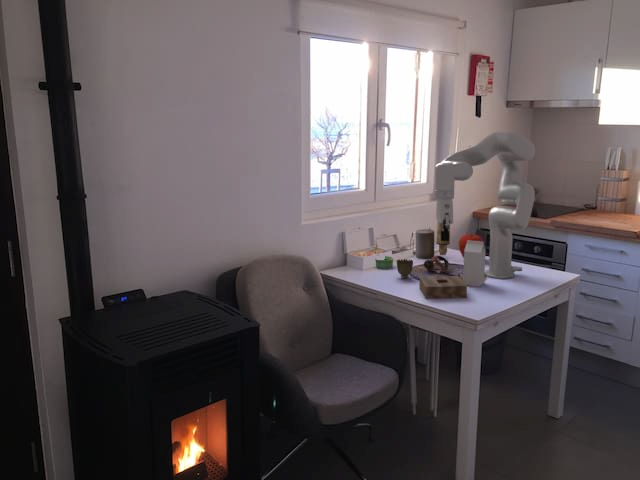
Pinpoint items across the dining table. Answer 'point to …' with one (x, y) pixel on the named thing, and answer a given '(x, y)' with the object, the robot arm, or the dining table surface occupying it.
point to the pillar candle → (425, 243)
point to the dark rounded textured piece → (404, 267)
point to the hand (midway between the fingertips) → (443, 238)
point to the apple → (464, 241)
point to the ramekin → (385, 262)
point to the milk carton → (474, 263)
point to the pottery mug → (431, 263)
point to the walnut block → (443, 287)
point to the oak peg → (442, 243)
